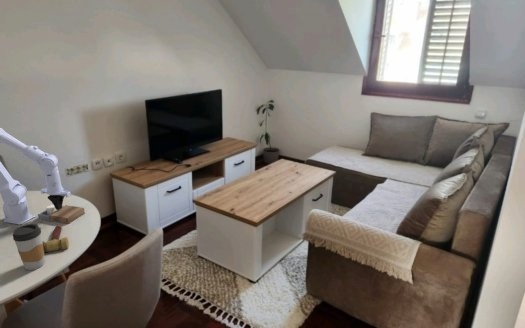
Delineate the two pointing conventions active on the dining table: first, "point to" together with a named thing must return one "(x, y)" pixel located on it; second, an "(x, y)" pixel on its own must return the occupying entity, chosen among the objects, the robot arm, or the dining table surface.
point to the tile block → (51, 209)
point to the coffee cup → (30, 246)
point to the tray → (44, 215)
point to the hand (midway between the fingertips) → (59, 208)
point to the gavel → (56, 241)
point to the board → (67, 214)
